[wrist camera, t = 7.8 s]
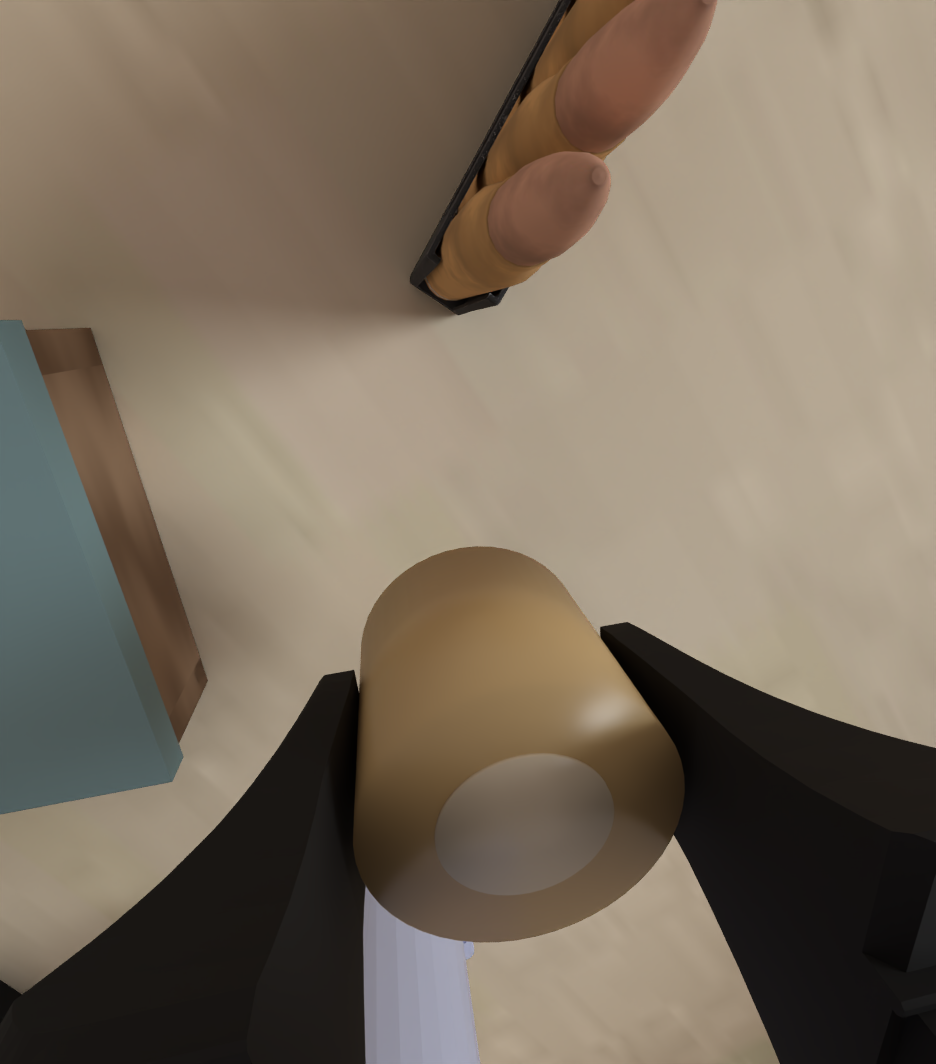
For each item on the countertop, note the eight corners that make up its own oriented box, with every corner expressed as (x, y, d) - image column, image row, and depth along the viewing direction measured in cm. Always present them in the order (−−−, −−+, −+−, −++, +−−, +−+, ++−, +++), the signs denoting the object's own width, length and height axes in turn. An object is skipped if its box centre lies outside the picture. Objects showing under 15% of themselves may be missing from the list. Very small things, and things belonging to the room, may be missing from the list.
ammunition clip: (460, 317, 17) (614, 315, 6) (407, 281, 17) (471, 208, 5) (672, -53, 15) (1581, -1191, 4) (618, -111, 14) (1507, -1674, 3)
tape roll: (581, 716, 14) (680, 906, 10) (380, 755, 14) (383, 976, 9) (575, 529, 13) (694, 656, 8) (341, 566, 12) (320, 725, 7)
